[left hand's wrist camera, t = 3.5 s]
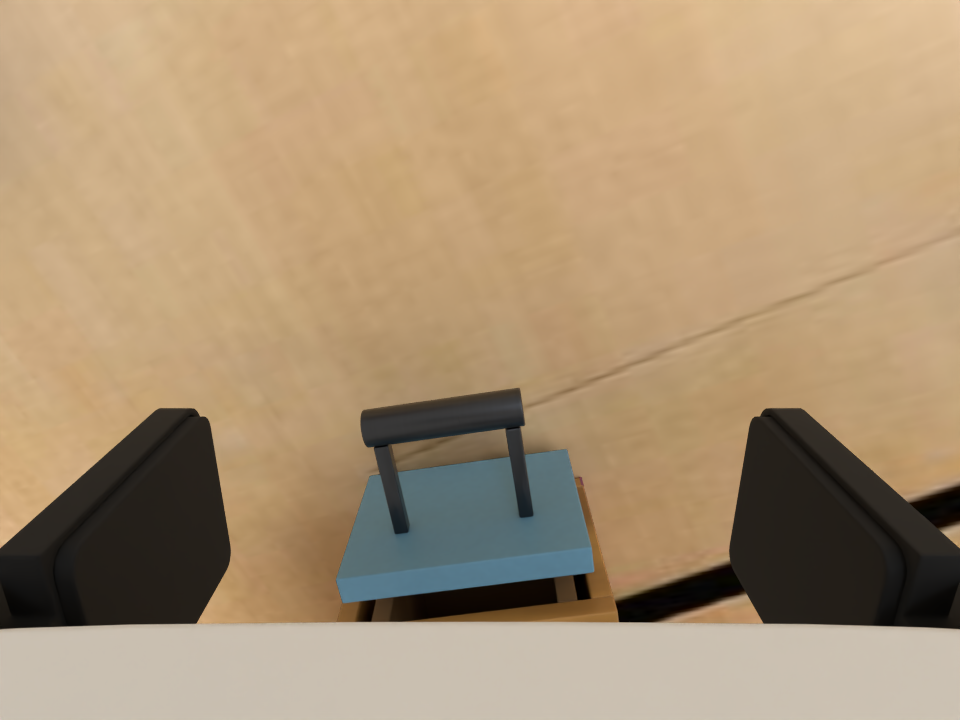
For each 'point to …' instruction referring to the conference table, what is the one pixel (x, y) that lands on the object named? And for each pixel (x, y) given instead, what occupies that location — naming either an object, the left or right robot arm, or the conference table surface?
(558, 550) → the drawer
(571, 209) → the conference table surface
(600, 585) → the wooden open box
